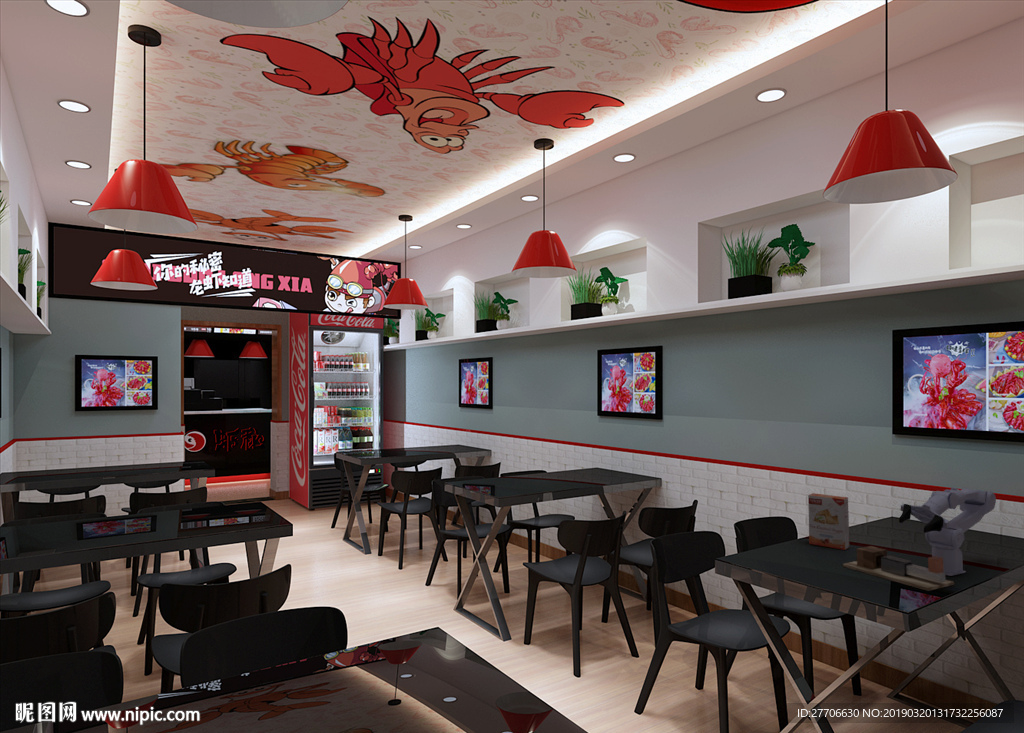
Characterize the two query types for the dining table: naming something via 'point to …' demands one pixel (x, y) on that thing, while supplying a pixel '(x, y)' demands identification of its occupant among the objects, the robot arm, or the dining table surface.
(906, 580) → the board
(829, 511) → the cracker box
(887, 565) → the sleeve
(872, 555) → the socket block
